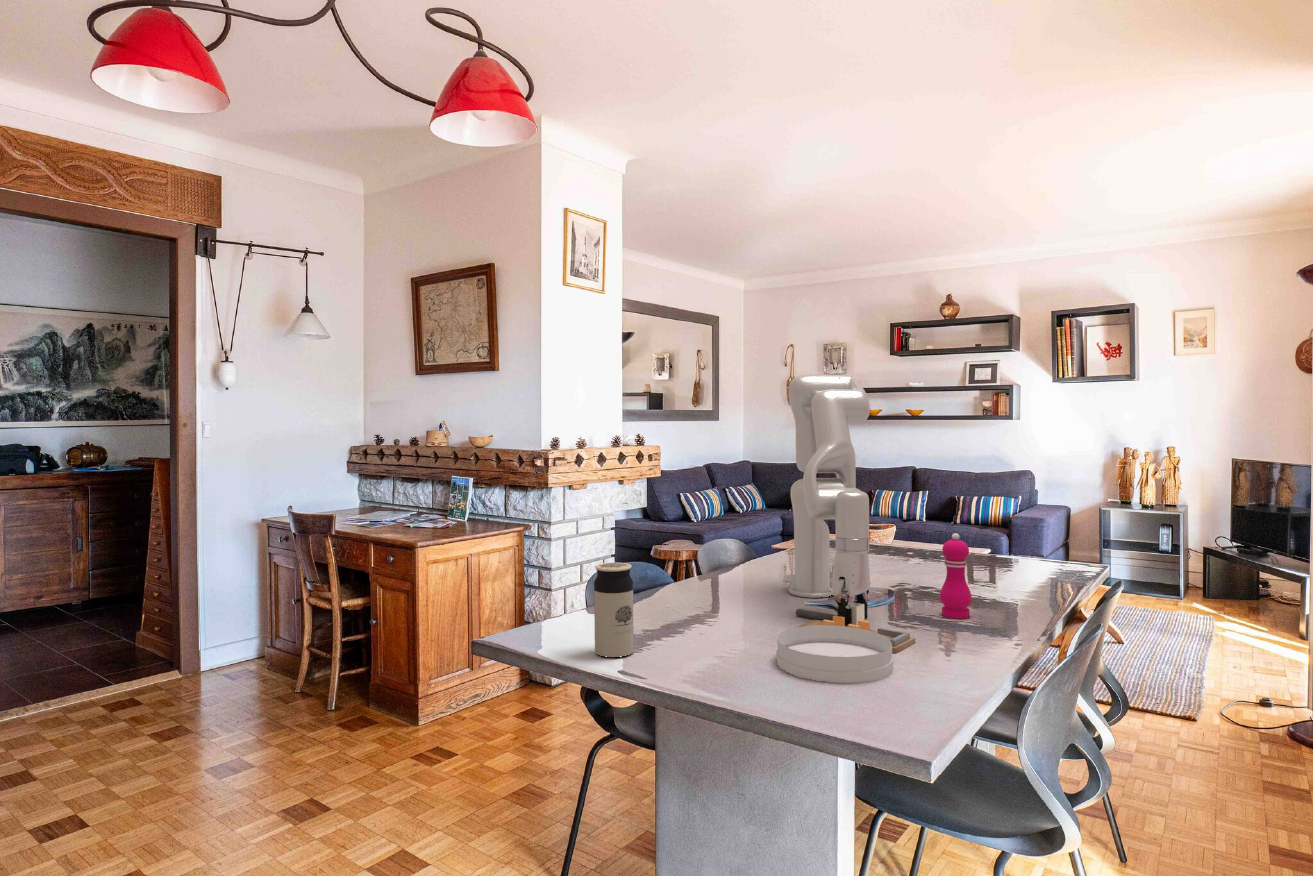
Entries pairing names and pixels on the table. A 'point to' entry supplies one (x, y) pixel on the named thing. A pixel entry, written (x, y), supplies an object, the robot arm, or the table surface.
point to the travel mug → (613, 610)
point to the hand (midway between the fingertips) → (852, 621)
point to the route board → (894, 648)
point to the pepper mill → (955, 580)
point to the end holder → (894, 635)
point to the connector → (856, 614)
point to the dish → (835, 654)
